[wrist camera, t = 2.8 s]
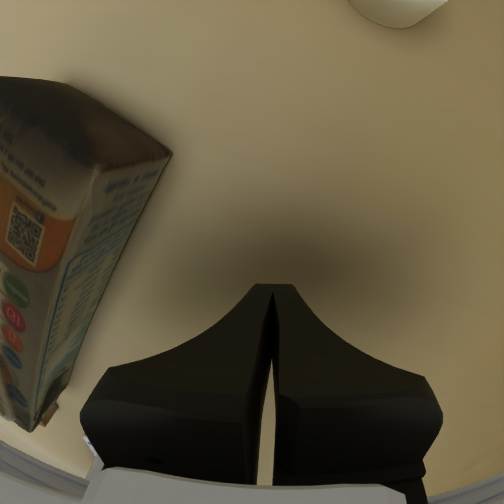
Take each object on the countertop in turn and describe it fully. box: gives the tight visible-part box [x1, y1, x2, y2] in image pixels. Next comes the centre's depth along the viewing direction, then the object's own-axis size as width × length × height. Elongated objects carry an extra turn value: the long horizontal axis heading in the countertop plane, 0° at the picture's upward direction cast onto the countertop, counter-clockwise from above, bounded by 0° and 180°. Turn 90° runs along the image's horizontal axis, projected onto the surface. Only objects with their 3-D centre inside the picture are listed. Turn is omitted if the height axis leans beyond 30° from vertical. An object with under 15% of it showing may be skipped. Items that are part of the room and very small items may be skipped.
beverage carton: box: [0, 76, 171, 433], centre depth 13 cm, size 8×19×7 cm, turn 146°
